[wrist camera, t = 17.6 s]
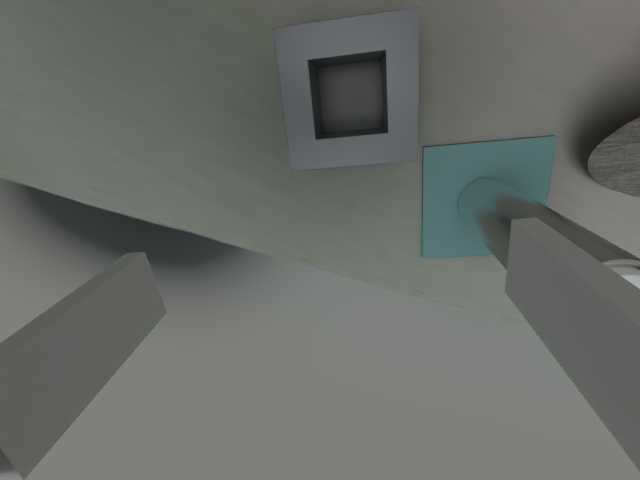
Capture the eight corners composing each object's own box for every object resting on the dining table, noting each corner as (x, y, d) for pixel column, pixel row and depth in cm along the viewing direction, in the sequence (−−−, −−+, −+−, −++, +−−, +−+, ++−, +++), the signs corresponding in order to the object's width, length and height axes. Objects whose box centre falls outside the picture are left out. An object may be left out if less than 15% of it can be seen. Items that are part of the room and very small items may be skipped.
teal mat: (422, 146, 42) (423, 147, 42) (553, 135, 40) (556, 136, 40) (421, 256, 48) (422, 258, 47) (536, 251, 46) (538, 253, 45)
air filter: (517, 213, 43) (694, 338, 20) (467, 234, 45) (577, 370, 22) (501, 168, 42) (675, 249, 19) (449, 191, 43) (550, 291, 20)
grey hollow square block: (289, 41, 40) (272, 28, 32) (407, 25, 38) (419, 7, 30) (302, 159, 45) (291, 170, 37) (408, 150, 43) (418, 160, 35)
